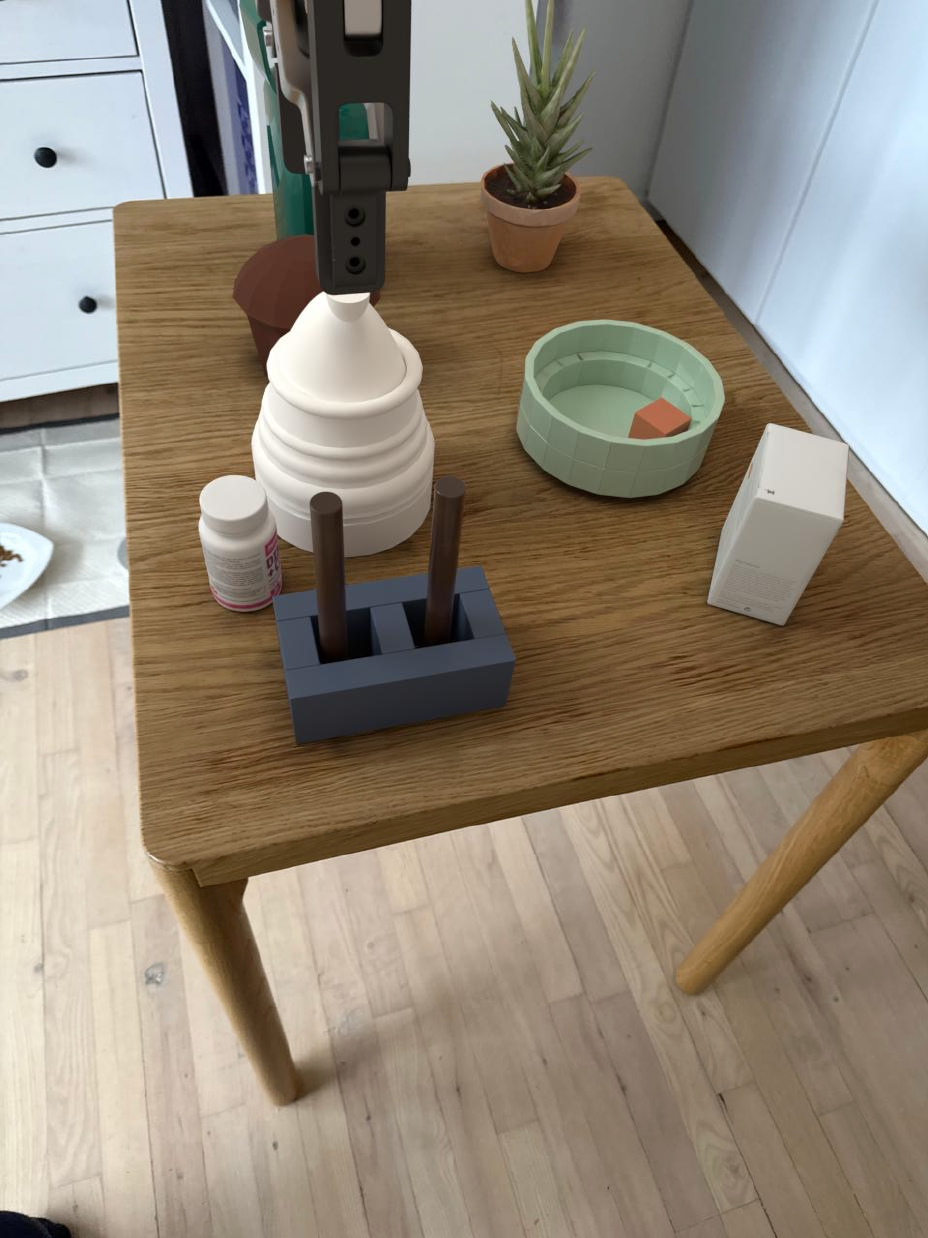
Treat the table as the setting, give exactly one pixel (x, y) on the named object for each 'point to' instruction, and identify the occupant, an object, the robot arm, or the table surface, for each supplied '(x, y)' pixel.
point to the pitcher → (287, 187)
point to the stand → (393, 658)
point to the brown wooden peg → (443, 559)
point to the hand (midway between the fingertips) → (329, 223)
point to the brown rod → (329, 575)
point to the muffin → (279, 289)
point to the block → (659, 421)
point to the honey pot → (345, 427)
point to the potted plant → (536, 158)
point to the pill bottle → (240, 543)
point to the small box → (780, 523)
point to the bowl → (615, 406)
